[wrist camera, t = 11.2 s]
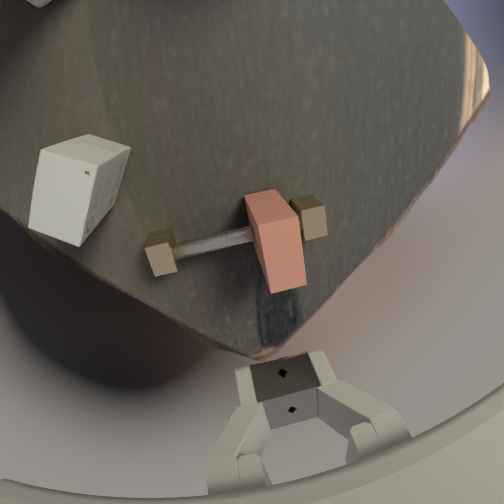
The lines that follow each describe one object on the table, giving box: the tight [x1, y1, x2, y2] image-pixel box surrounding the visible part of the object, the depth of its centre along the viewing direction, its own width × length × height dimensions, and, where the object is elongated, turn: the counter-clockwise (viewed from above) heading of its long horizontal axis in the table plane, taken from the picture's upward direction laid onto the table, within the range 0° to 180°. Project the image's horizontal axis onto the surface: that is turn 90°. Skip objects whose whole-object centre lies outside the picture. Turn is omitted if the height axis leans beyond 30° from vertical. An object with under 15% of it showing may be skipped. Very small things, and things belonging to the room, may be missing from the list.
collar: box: [244, 189, 307, 294], centre depth 36 cm, size 4×8×10 cm, turn 11°
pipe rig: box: [144, 195, 327, 277], centre depth 39 cm, size 22×4×5 cm, turn 101°
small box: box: [28, 134, 131, 247], centre depth 29 cm, size 8×6×13 cm
